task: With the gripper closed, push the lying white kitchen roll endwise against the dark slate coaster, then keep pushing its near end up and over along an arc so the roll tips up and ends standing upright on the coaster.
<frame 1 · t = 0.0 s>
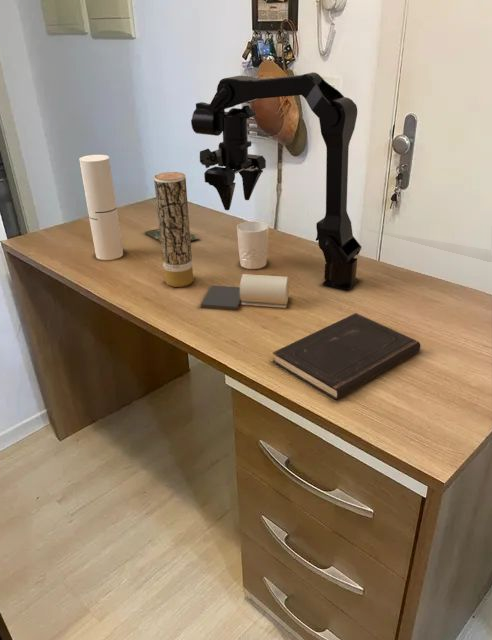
hand: (237, 204, 136), 15 cm above the table, tool pointing down, fingers open, 9 cm apart
eiffel tower figurine: (171, 237, 160), on the table
white cup: (253, 265, 142), on the table
brown bark cylinder: (179, 283, 134), on the table
cylindrical container: (109, 255, 149), on the table
slate coaster: (223, 298, 126), on the table
hardcover book: (346, 358, 104), on the table
kitchen roll: (264, 289, 122), point 3 cm above the table
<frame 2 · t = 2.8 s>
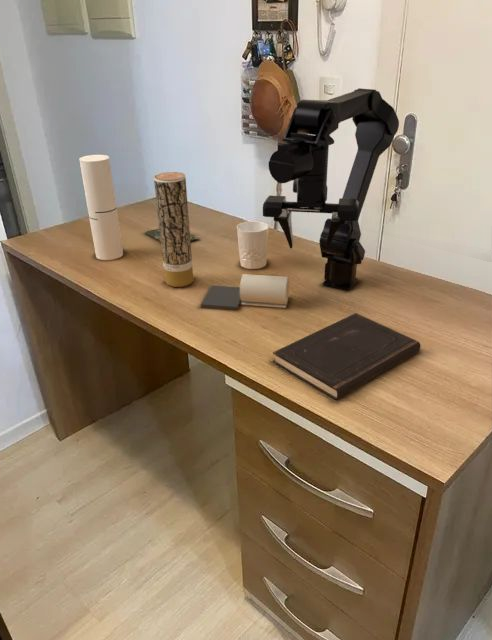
hand: (309, 248, 116), 13 cm above the table, tool pointing down, fingers open, 7 cm apart
nothing on the table moved.
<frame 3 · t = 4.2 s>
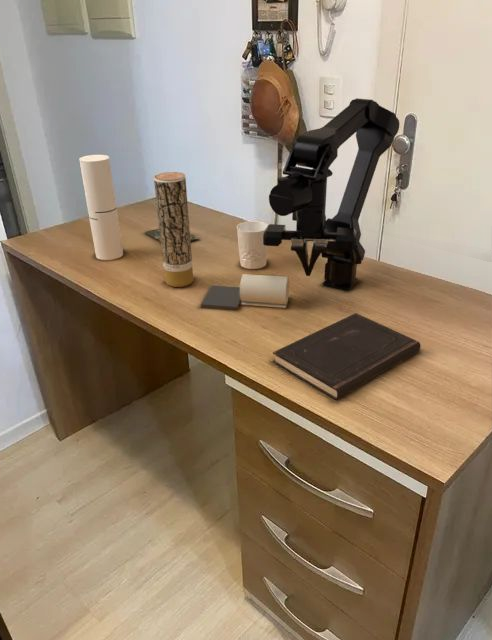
hand: (308, 275, 119), 7 cm above the table, tool pointing down, fingers closed
nothing on the table moved.
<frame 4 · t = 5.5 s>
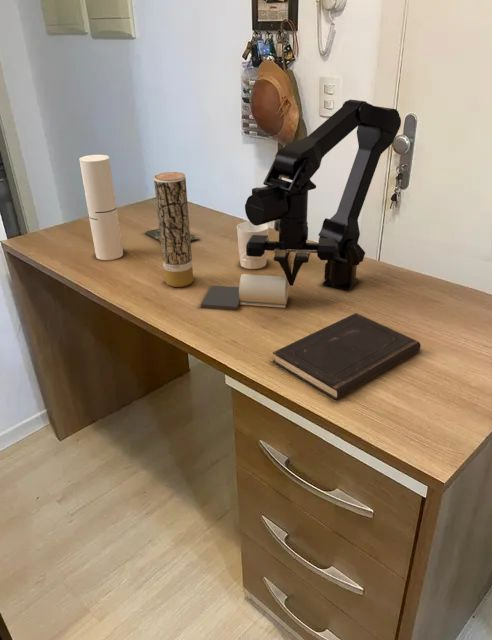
hand: (291, 284, 121), 5 cm above the table, tool pointing down, fingers closed
kitchen roll: (264, 289, 122), point 3 cm above the table, touching gripper
everything else where it was.
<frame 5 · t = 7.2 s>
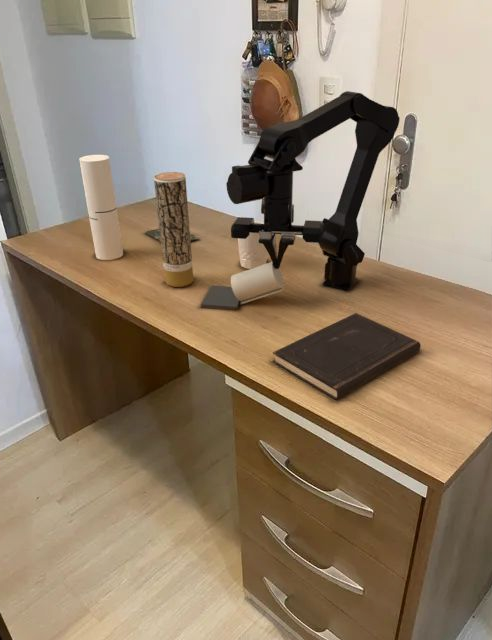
hand: (277, 268, 119), 8 cm above the table, tool pointing down, fingers closed
kitchen roll: (257, 281, 122), point 5 cm above the table, tilted 23°, touching gripper, slate coaster
everything else where it was.
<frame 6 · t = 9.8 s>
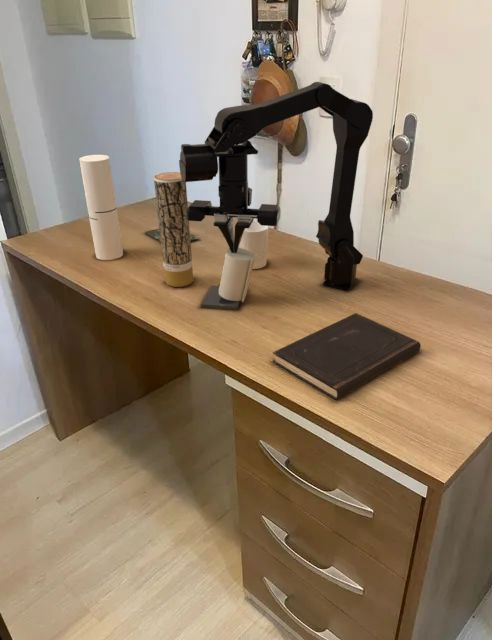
hand: (234, 252, 119), 11 cm above the table, tool pointing down, fingers closed
kitchen roll: (235, 274, 122), point 6 cm above the table, tilted 77°, touching gripper, slate coaster
everything else where it was.
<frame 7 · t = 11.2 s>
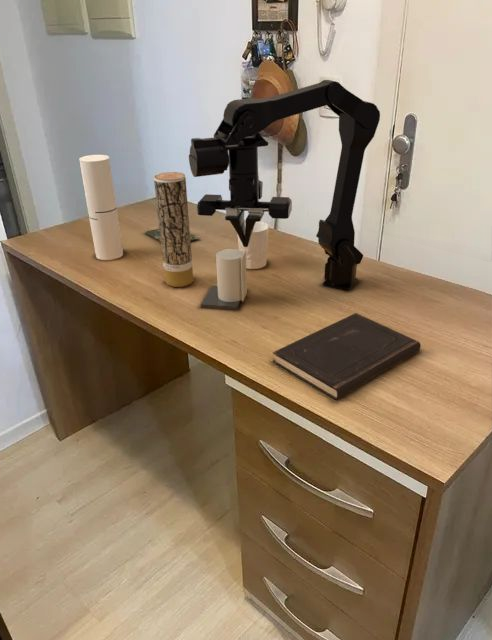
hand: (246, 246, 118), 13 cm above the table, tool pointing down, fingers closed
kitchen roll: (230, 275, 122), point 6 cm above the table, tilted 90°, touching slate coaster
everything else where it was.
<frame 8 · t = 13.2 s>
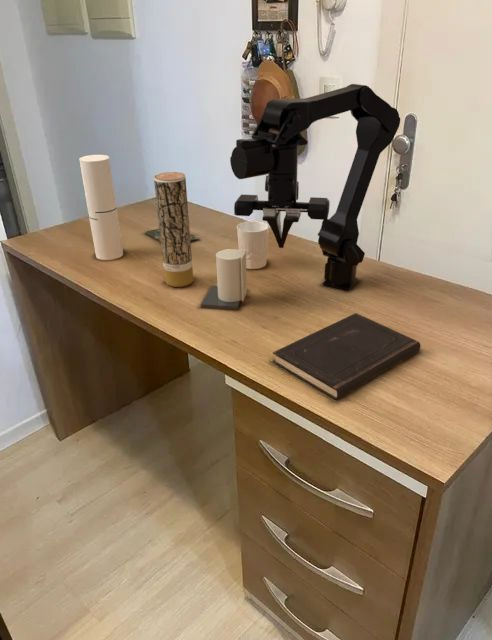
hand: (281, 247, 117), 13 cm above the table, tool pointing down, fingers closed
nothing on the table moved.
at the end: kitchen roll tilted 90°; kitchen roll point 5.8 cm above the table; kitchen roll 1.8 cm from the slate coaster (horizontally) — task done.
